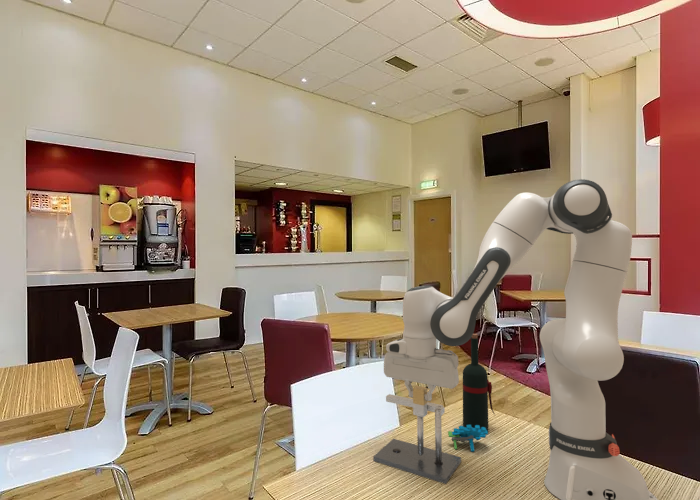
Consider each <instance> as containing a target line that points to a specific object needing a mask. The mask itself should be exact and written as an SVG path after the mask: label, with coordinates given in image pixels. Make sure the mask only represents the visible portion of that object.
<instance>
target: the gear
mask: <svg viewBox="0 0 700 500" xmlns="http://www.w3.org/2000/svg"><path fill="white" fill-rule="evenodd" d="M466 426H467V428H466V427H463V425H459V426H458V428H457V427H454V428H453V431H451V430H449V431H447V434H448V437H449V438H451V442H453V446H454V450H457V449H458V446H457V445H458V444H457V442H468V441H469V447H470V452H472V453H473V452H476V451H475V446H474V439H475V440H476V441H480V440H481V439H482V438H483V439H486V437H487V435H489V430H488V431H487V430H486V428H485V427H481V429H480V426H479V425H475V428H472V427H471V425H466Z"/></svg>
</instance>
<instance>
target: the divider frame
mask: <svg viewBox="0 0 700 500" xmlns="http://www.w3.org/2000/svg"><path fill="white" fill-rule="evenodd" d="M385 401H386V402H387V403H390V404H391V403H392V404H395V405H396V404H397V405H399V406H400V405H401V406H403V407H404V406H405V407H408V408H410V407H411V408H413V398H411V397H405V396H400V395H395V394H390V393H389V394H387V395H386V396H385ZM445 410H446V409H445V406H444V405H443V404H438V403H434V402H430V401H427V412H432V413H434V436H435V437H434V438H435V439H434V441H435V442H434V445H435V448H434V450H435V463H436V464H438V465H440V464H442V452H443V451H442V449H443V447H442V444H443V442H442V416H443V415H444V414H445V413H446V411H445Z"/></svg>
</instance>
